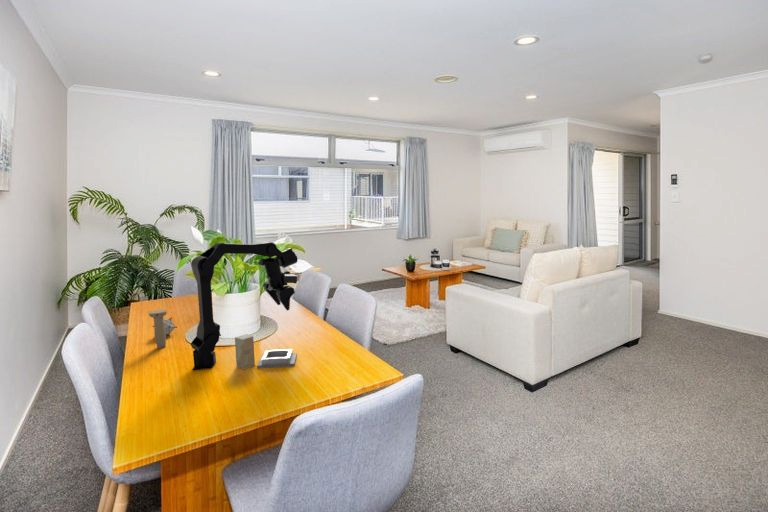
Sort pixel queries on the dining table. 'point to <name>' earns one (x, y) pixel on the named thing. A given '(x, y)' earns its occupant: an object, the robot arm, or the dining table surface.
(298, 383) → the dining table surface
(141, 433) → the dining table surface
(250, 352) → the box
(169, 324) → the grey spiky ball
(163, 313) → the handle
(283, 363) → the socket
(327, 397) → the dining table surface
